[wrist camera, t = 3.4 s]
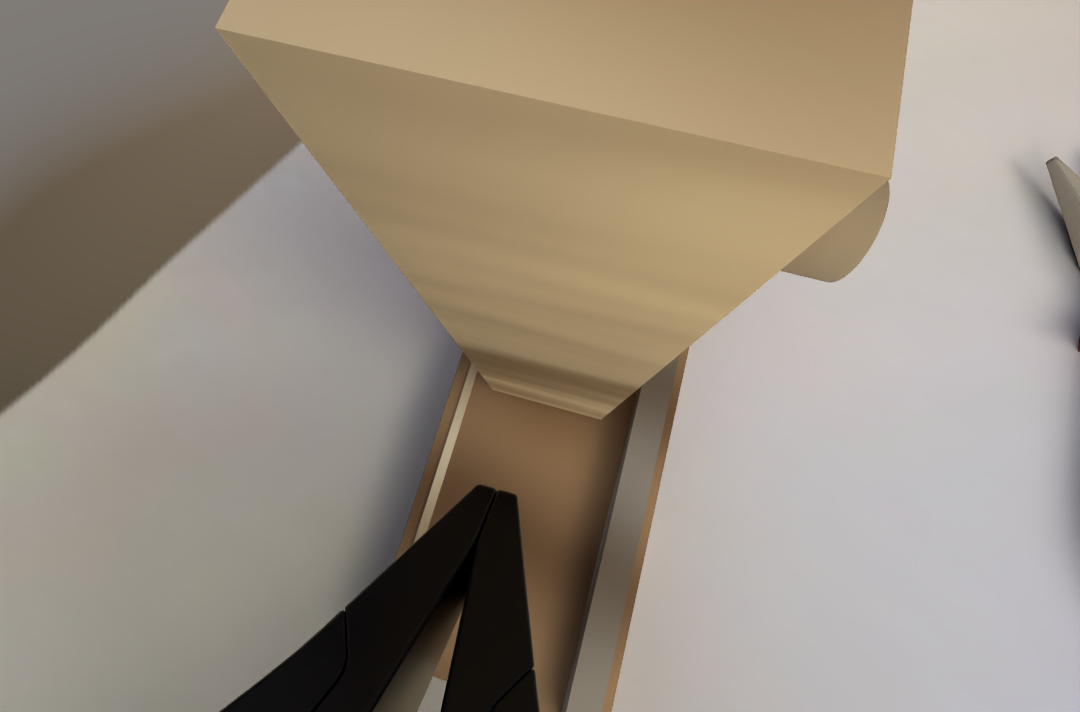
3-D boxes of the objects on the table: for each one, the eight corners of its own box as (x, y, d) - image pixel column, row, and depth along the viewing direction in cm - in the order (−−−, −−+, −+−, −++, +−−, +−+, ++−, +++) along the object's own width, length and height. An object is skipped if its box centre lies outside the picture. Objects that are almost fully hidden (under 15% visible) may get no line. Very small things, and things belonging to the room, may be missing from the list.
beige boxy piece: (656, 435, 16) (1686, 168, 2) (439, 375, 17) (-291, -214, 2) (685, 304, 17) (1446, -581, 3) (480, 252, 18) (176, -691, 3)
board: (601, 708, 16) (610, 754, 13) (381, 636, 16) (351, 666, 14) (714, 187, 20) (737, 149, 18) (538, 147, 21) (536, 105, 18)
